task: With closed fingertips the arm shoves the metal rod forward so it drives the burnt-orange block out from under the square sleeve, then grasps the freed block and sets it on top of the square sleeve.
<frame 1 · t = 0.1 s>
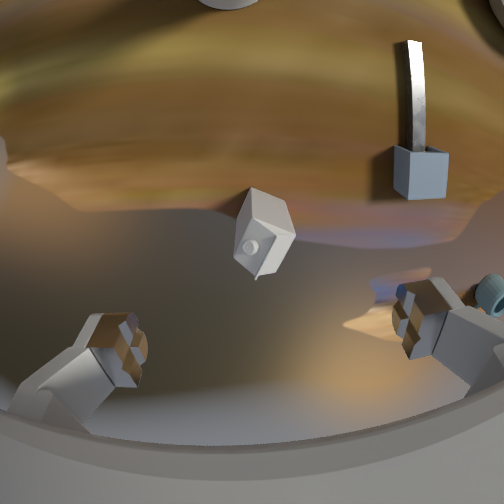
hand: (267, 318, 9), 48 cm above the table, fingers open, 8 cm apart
mug: (481, 290, 70), on the table
rod: (411, 97, 47), on the table
milk carton: (260, 209, 58), on the table
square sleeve: (412, 166, 53), on the table
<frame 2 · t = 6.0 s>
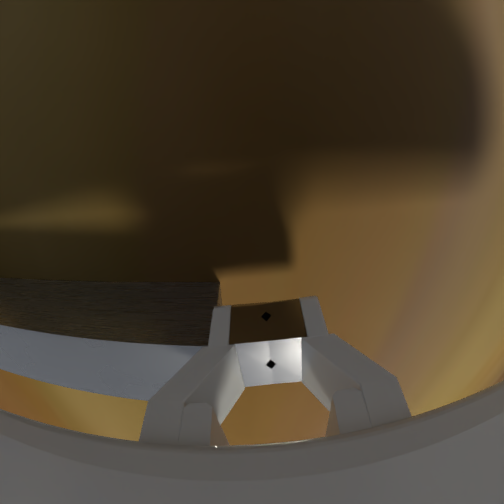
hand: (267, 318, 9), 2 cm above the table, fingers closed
rod: (0, 301, 11), on the table, touching gripper
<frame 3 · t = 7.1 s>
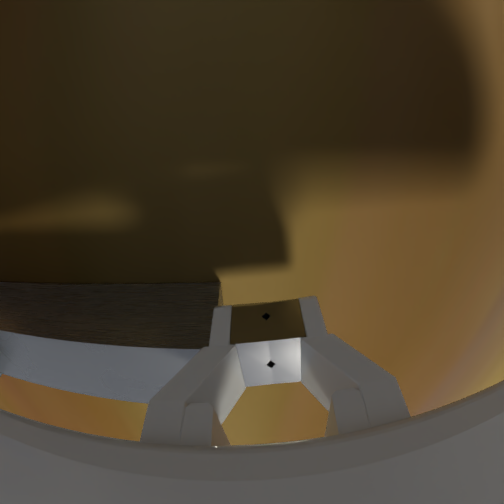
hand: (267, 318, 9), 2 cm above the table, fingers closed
rod: (2, 306, 11), on the table, touching gripper
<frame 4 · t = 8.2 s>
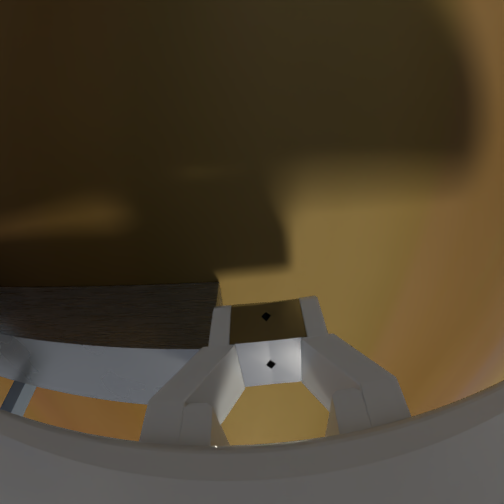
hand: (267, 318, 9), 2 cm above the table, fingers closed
rod: (4, 311, 11), on the table, touching gripper
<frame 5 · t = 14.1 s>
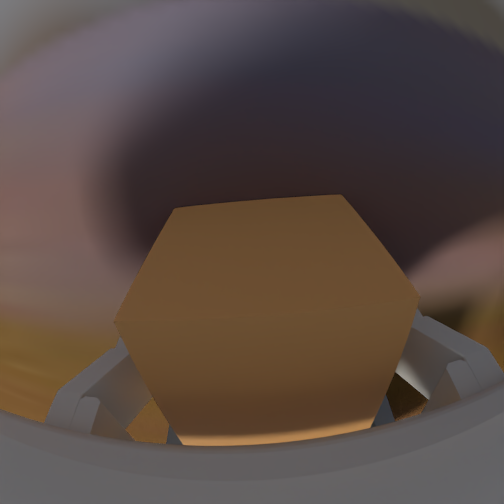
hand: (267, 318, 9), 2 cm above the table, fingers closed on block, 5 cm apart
block: (263, 271, 10), on the table, touching gripper
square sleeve: (280, 420, 15), on the table
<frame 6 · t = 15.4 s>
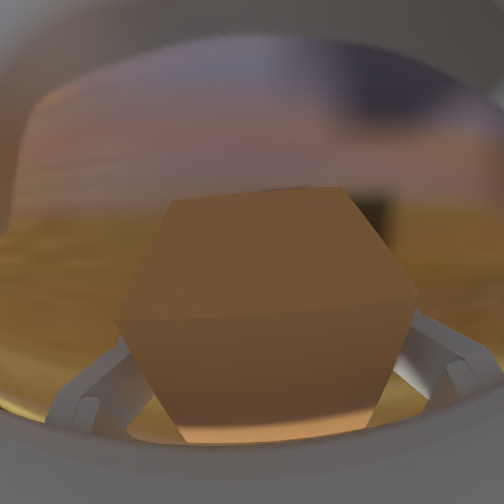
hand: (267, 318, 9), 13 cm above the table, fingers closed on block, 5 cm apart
block: (262, 263, 10), point 11 cm above the table, touching gripper
when the fingers open (10 cm above the table, at t = 18.7 s): block drops 1 cm, resting on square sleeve.
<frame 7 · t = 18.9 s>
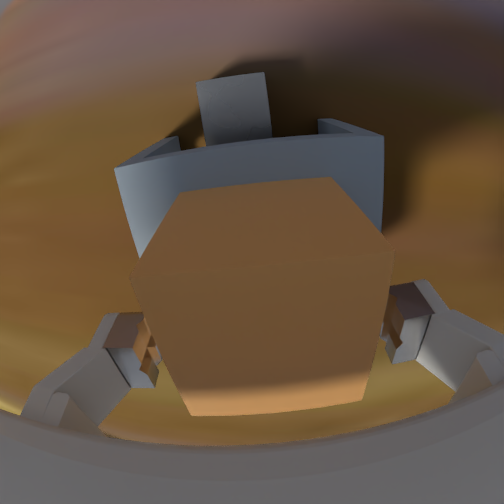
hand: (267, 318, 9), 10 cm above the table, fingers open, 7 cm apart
block: (262, 250, 11), point 7 cm above the table, touching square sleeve
rod: (259, 265, 20), on the table
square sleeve: (257, 203, 17), on the table
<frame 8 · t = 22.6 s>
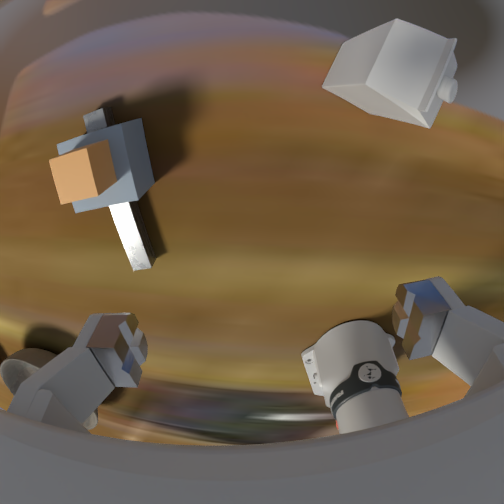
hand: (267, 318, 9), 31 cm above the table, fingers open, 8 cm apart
block: (94, 165, 30), point 7 cm above the table, touching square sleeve
bowl: (59, 370, 60), on the table
rod: (123, 187, 39), on the table
milk carton: (356, 77, 32), on the table
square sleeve: (117, 157, 36), on the table
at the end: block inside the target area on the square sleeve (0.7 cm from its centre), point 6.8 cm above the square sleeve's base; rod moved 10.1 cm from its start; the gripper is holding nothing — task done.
